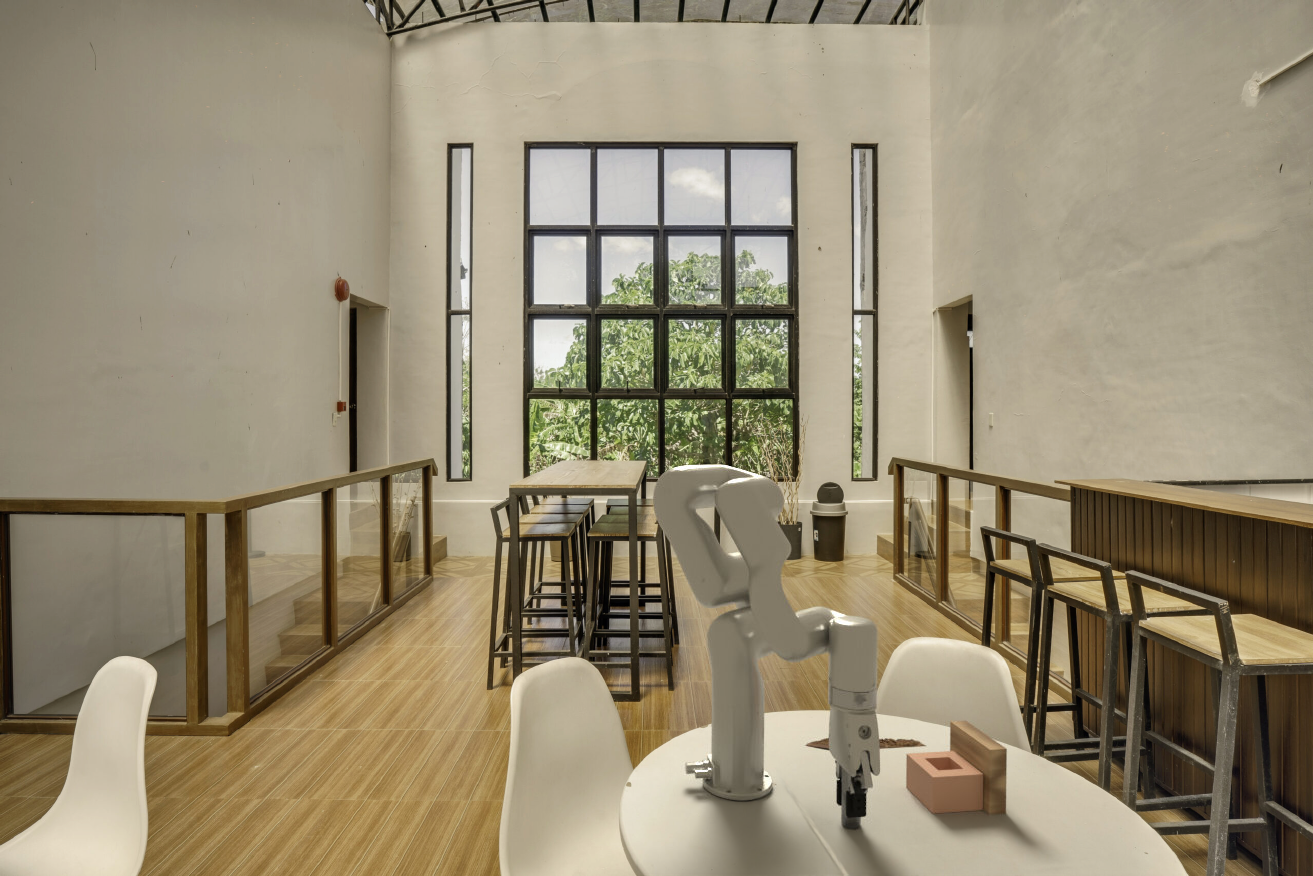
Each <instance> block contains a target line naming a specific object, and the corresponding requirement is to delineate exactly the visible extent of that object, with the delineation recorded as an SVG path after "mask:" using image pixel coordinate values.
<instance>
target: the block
mask: <svg viewBox="0 0 1313 876" xmlns="http://www.w3.org/2000/svg"><path fill="white" fill-rule="evenodd" d="M905 774H906V775H905V779H906V780H905V786H906V787H905V788H906V789H907V790H908V791H909V792H910V794H912V795H913V796H914V797H915V798H916V799H918V801H919V802H921V804H923V806H924V807H925V808H927V810H928V811H929V812H931V814H944V813H945V814H946V813H960V812H972V811H973V812H974V811H984V810H983V773H981V772H980V771H979V770H977V769H976V768H975V767H974V766H972V765H971V764H970V763H968V762H967V761H966V760H965V759H963V758H962V757H961V756H960V755H958V754H957V753H956V752H954V751H950V750H949V751H948V750H947V751H932V752H931V751H929V752H913V753H912V752H911V753H906V772H905Z"/></svg>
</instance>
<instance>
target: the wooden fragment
mask: <svg viewBox="0 0 1313 876" xmlns="http://www.w3.org/2000/svg"><path fill="white" fill-rule="evenodd" d="M805 745H806V746H809V747H815V748H822V749H828V750H829V737H826V738H823V739H820V740H814V741H811V742H807V743H806V744H805ZM879 747H880V750H881V749H883V750H884V749H886V750H887V749H897V748H898V749H900V748H902V749H904V748H915V747H916V748H917V747H920V748H921V747H927V745H925V744H924V743H923V742H921V741H919V740H915V739H913V738H911V739H905V738H898V739H893V738H890V737H889V738H884V739H883V738H879Z"/></svg>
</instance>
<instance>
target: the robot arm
mask: <svg viewBox="0 0 1313 876" xmlns="http://www.w3.org/2000/svg"><path fill="white" fill-rule="evenodd" d="M652 504H653V511H654V515H655V518H656V521H657V522H658V524H659V526H660V528H661V530H662V532H663V534H664V535H665V537H666V538H667V540H668V541H669V543H670V545H671V547H672V549H673V552H674V554H675V556H676V559H677V561H678V563H679V565H680V567H681V570H682V572H683V574H684V577H685V578H686V580H687V583H688V585H689V587H690V589H691V592H692V595H694V598H695V599H696V601H697V603H698V604H700V605H701V606H702V607H705V608H707V609H716V608H722V607H727V606H731V605H734V604H735V607H736V608H735V609H732V610H728V611H725V612H724V613H721V614H720V615H718V616H717V617H716V618H714V619H713V620H712V622H711V623H710V625H709V627H708V630H707V634H706V643H707V651H708V657H709V661H710V671H711V751H710V753H707V755H706V759H703V760H701V761H699V762H696V761H694V762H693V761H690V762H685V764H684V765H685V766H684V769H685V773H686V775H692V774H694V778H695V779H697V780H698V779H702V785H703V787H704V788H705V789H706V790H707V792H709V793H711V794H712V795H714V796H716V797H719V798H722V799H726V800H729V801H752V800H757V799H760V798H763V797H764V796H767V795H768V794H769V793H770V792H771V791H772V789H773V778H772V776H771V775H770V774H769V772H767V771H766V770H765V701H766V700H765V699H766V698H765V684H764V680H763V675H762V674H761V671H760V669H759V665H758V660H760V659H762V658H765V657H767V656H770V655H772V654H776V655H777V656H778V657H779V658H781V660H783V661H786V662H788V663H789V662H790V663H799V662H803V661H806V660H807V659H811V658H813V657H815V656H819V655H823V654H828V680H827V681H828V685H827V686H828V690H827V691H828V699H827V704H828V705H829V706H830V709H829V717H828V718H829V719H828V721H829V722H828V738H829V749H828V750H829V753H830V754H831V756H832V757H833V758H834V763H835V777H836V791H835V792H836V794H835V795H836V804H837V806H839V807H841V803H842V768H843V769H844V770H845V771H846V772H847V773H848V790H849V791H846V816H847V817H848V818H855V817H861V818H864V817H866V815H867V794H868V793H869V791H868V790H869V789H873V787H874V784H873V779H872V775H874V776H876V777H877V776H879V775H880V772H881V753H880V752H881V751H880V750H881V749H880V747H879V739H880V732H879V725H878V718H877V712H876V710H877V708H878V645H879V644H878V635H879V634H878V627H877V625H876V623H875V622H873V620H871V619H869V618H866V617H863V616H856V615H846V614H844V613H841V612H839V611H837V610H834V609H832V608H829V607H825V606H818V605H817V606H813V607H809V608H806V609H801V610H798V611H795V610H794V609H793V607H792V605H791V603H790V602H789V600H788V598H787V596H786V593H785V591H784V587H783V584H782V570H783V566H784V565H785V563H786V561H787V559H789V557H790V555H791V552H792V545H791V542H790V541H789V539H788V537H787V536H786V535H785V533H784V530H783V529H782V527H781V526H780V524H779V523H778V521H777V519H776V518H777V517H779V516H780V515H781V513H782V512H783V510H784V505H785V498H784V494H783V491H782V489H781V488H780V486H779V485H778V484H777V483H776V482H775V481H774V480H773V479H771V478H769V477H767V476H764V475H761V474H756V473H753V472H750V471H747V470H743V469H739V468H736V467H732V466H729V465H725V464H687V465H680V466H675V467H673V468H670V469H668V470H666V471H664V473H662V474H661V475H660V476H659V477H658V480H657V481H656V483H655V486H654V490H653V497H652ZM708 508H715V509H716V511H717V513H718V515H719V517H720V519H721V521H722V522H723V524H724V526H725V529H726V531H727V532H728V533H729V536H730V537H731V538H732V540H733V543H734V544H735V546H736V548H737V549H738V552H735V551H734V552H729V553H726V551H724V549H723V548H722V546H721V544H720V543H719V540H718V538H717V536H716V533H715V531H714V530H713V529H712V527H711V526H710V525H709V524H708V522H707V521H705V520H704V519H703V518H702V517H701V516H700V515H699V514H698V512H697V510H698V509H708ZM858 769H860V771H856V770H858ZM858 777H861V780H857V781H856V782H855V783H854V778H858Z"/></svg>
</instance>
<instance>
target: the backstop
mask: <svg viewBox="0 0 1313 876" xmlns="http://www.w3.org/2000/svg"><path fill="white" fill-rule="evenodd" d="M949 723H950V727H949V728H950V729H949V731H950V733H949V738H950V739H949V751H954V752H956V753H957V754H958V755H960V756H961V757H962V758H963V759H965V760H966V761H967V762H968V763H970V764H971V765H972V766H974V767H975V768H976V769H977V770H979V771H980V772H981V773H983V810H982V811H984V812H985V813H986V814H988V815H989V816H991V815H992V816H993V815H1005V814H1007V767H1008V765H1007V764H1008V763H1007V760H1008V757H1007V755H1008V754H1007V753H1008V749H1007V747H1005V746H1003V745H1002V744H1000V743H999V742H997V741H996V740H994V738H992V737H990V736H989V735H987V734H986V733H984V732H983V731H981V730H980V729H979V728H977V727H976V726H975V725H973V724H972V723H970V722H968V721H967V720H953V721H950V722H949Z"/></svg>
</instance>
